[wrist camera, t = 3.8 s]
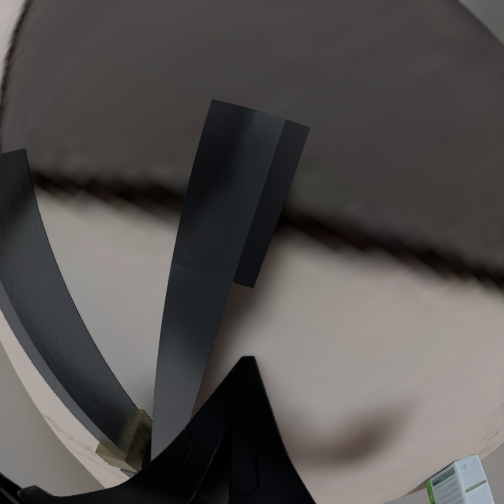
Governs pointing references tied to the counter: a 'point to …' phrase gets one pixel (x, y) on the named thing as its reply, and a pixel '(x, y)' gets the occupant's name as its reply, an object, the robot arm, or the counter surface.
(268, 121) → the tongs arm
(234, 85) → the counter surface
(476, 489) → the syrup box
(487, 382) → the counter surface
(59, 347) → the tongs
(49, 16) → the counter surface
